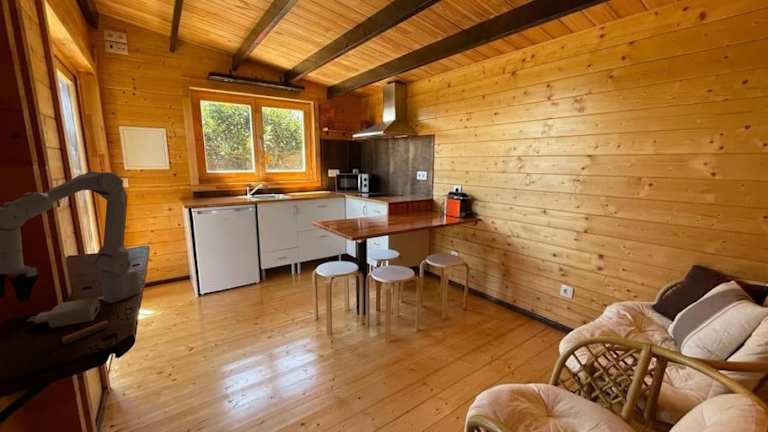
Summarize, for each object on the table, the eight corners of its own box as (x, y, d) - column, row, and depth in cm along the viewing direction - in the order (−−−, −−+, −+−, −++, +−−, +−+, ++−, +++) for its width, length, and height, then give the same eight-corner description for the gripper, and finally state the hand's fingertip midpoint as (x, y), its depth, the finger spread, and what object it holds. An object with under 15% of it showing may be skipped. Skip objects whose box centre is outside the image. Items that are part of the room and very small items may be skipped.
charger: (36, 320, 98) (100, 309, 105) (22, 334, 90) (92, 322, 97) (33, 305, 97) (98, 296, 104) (19, 319, 89) (89, 307, 96)
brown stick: (107, 326, 95) (106, 320, 94) (109, 326, 94) (108, 321, 94) (62, 343, 86) (61, 337, 85) (65, 344, 85) (63, 338, 85)
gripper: (-39, 253, 83) (-34, 303, 85) (13, 256, 82) (18, 307, 84) (-5, 247, 90) (0, 294, 92) (44, 250, 89) (47, 297, 91)
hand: (10, 299), depth 88 cm, fingers open, 7 cm apart
